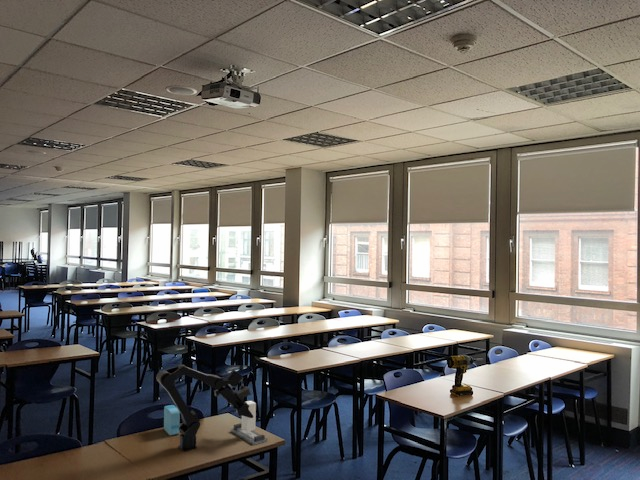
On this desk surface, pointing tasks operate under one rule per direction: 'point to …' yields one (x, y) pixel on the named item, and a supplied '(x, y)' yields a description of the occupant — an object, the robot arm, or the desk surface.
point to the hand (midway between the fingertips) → (251, 415)
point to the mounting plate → (248, 435)
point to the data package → (171, 419)
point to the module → (247, 422)
